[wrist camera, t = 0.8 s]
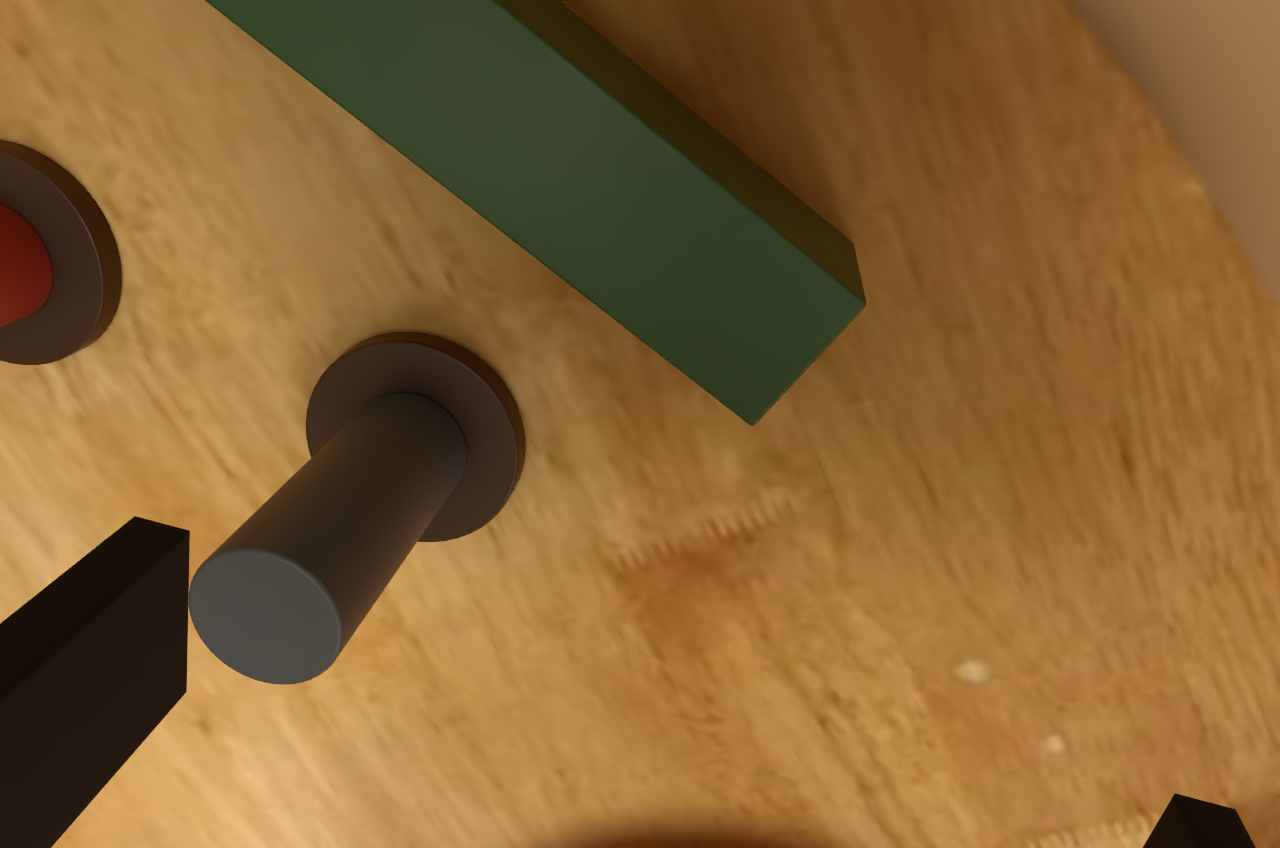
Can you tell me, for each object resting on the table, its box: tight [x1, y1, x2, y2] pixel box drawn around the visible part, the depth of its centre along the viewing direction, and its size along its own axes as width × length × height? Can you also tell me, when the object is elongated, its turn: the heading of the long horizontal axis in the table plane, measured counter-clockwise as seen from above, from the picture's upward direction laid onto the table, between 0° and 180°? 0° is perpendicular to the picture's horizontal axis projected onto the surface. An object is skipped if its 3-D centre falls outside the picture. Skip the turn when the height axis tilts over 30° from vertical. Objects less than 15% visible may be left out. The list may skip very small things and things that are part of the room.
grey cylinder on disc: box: [189, 333, 525, 684], centre depth 24 cm, size 6×6×9 cm
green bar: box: [205, 0, 866, 426], centre depth 21 cm, size 4×16×5 cm, turn 53°
